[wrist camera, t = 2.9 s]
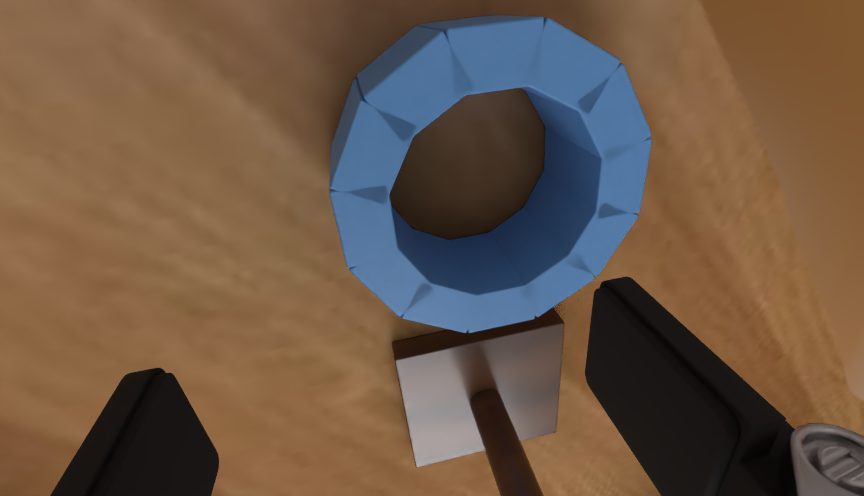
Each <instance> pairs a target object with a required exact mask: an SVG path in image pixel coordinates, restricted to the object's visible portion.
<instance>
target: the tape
mask: <svg viewBox="0 0 864 496" xmlns="http://www.w3.org/2000/svg"><path fill="white" fill-rule="evenodd" d="M357 79H358V80H357ZM357 79H354V80H353V83H352V86H351V89H350V92H349V95H348V98H347V101H346V104H345V106H344V109H343V112H342V115H341V118H340V121H339V124H338V127H337V130H336V133H335V136H334V139H333V142H332V145H331V158H330V191H329V194H330V198H331V202H332V206H333V210H334V215H335V219H336V223H337V227H338V231H339V235H340V240H341V244H342V248H343V252H344V256H345V260H346V265H347V267H349V270H350V272H351V273H352V274H354V275H355V276H356V277H357V278H358V279H359V280H360V281H361V282H362V283H363V284H364V285H365V286H366V287H368V288H369V289H370V290H371V291H372V292H373V293H374V294H375V295H376V296H377V297H378V298H379V299H380V300H381V301H383V302H384V303H385V304H386V305H387V306H388V307H389V308H390V309H391V310H392V311H393V312H394V313H395V314H397V315H398V316H401V317H402V319H406V320H410V321H415V322H419V323H424V324H428V325H432V326H437V327H441V328H445V329H450V330H454V331H459V332H463V333H466V332H467V330H468V333H472V332H477V331H481V330H486V329H491V328H495V327H500V326H504V325H509V324H514V323H518V322H523V321H528V320H532V319H535V316H536V317H539V316H541V315H542V314H543V313H545V312H546V311H548V310H549V309H551V308H552V307H554V306H555V305H557V304H558V303H560V302H561V301H563V300H564V299H566V298H567V297H569V296H570V295H572V294H573V293H575V292H576V291H577V290H579V289H580V288H582V287H583V286H585V285H586V284H588V283H589V282H591V281H592V280H594V279H595V276H594V275H596V276H598V275H599V273H600V272H601V271H602V269H603V268H604V266H605V265H606V263H607V262H608V260H609V259H610V257H611V256H612V254H613V253H614V251H615V250H616V248H617V247H618V246H619V244H620V243H621V241H622V240H623V238H624V237H625V235H626V234H627V232H628V231H629V229H630V228H631V226H632V225H633V223H634V222H635V221H636V219H637V218H638V214H636V213H639V212H640V209H641V203H642V197H643V191H644V185H645V179H646V173H647V167H648V161H649V155H650V149H651V143H652V139H651V138H649V137H650V136H651V132H650V129H649V127H648V124H647V122H646V119H645V117H644V114H643V112H642V109H641V107H640V104H639V101H638V99H637V96H636V94H635V91H634V89H633V86H632V84H631V81H630V79H629V76H628V74H627V71H626V69H625V66H624V65H623V64H622V63H620V60H619V59H618V58H617V57H615V56H613V55H612V54H610V53H608V52H607V51H605V50H603V49H601V48H600V47H598V46H596V45H595V44H593V43H591V42H589V41H588V40H586V39H584V38H583V37H581V36H579V35H578V34H576V33H574V32H572V31H571V30H569V29H567V28H566V27H564V26H562V25H560V24H559V23H557V22H555V21H554V20H552V19H550V18H543V17H541V16H503V15H489V16H481V17H472V18H464V19H456V20H448V21H439V22H431V23H423V24H420V25H419V27H417V26H415V27H413V28H412V29H411V30H410V31H408V32H407V33H406V34H405V35H404V36H402V37H401V38H400V39H399V40H398V41H396V42H395V43H394V44H393V45H392V46H391V47H389V48H388V49H387V50H386V51H385V52H383V53H382V54H381V55H380V56H379V57H377V58H376V59H375V60H374V61H373V62H372V63H370V64H369V65H368V66H367V67H366V68H364V69H363V70H362V71H361V72H360V73H358V74H357ZM514 88H522V89H524V90H525V91H526V93H527V95H528V97H529V98H530V100H531V102H532V104H533V106H534V107H535V109H536V111H537V113H538V115H539V117H540V118H541V120H542V122H543V124H544V126H545V127H546V133H545V159H544V171H543V173H542V175H541V177H540V178H539V180H538V182H537V184H536V186H535V187H534V189H533V191H532V193H531V195H530V196H529V198H528V200H527V202H526V204H525V205H524V207H523V209H521V210H520V211H518V212H517V213H516V214H514V215H513V216H512V217H510V218H509V219H507V220H506V221H505V222H503V223H502V224H501V225H499V226H498V227H496V228H495V229H494V230H492V231H491V232H490V233H485V234H480V235H475V236H469V237H464V238H458V239H453V240H447V239H444V238H440V237H437V236H434V235H431V234H428V233H425V232H421V231H418V230H415V229H412V228H411V227H410V226H409V225H408V224H407V223H406V221H405V220H404V219H403V218H402V217H401V216H400V215H399V214H398V212H397V211H396V210H395V209H394V208H393V207H392V206H391V201H390V195H389V194H390V192H391V190H392V187H393V185H394V182H395V180H396V177H397V175H398V173H399V170H400V168H401V165H402V163H403V161H404V158H405V156H406V153H407V151H408V148H409V146H410V144H411V141H412V139H413V137H414V136H415V135H416V134H417V133H419V132H420V131H421V130H423V129H424V128H425V127H426V126H428V125H429V124H430V123H431V122H433V121H434V120H435V119H436V118H438V117H439V116H440V115H441V114H443V113H444V112H445V111H446V110H448V109H449V108H450V107H451V106H453V105H454V104H455V103H457V102H458V101H459V100H460V99H462V98H463V97H464V96H466V95H473V94H480V93H487V92H493V91H500V90H507V89H514Z"/></svg>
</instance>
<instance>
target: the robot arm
mask: <svg viewBox="0 0 864 496" xmlns="http://www.w3.org/2000/svg"><path fill="white" fill-rule="evenodd" d="M585 376H586V380H587V383H588V385H589V387H590V389H591V390H592V392H593V393H594V395H595V396H596V398H597V399H598V401H599V402H600V404H601V405H602V407H603V408H604V410H605V411H606V413H607V414H608V416H609V417H610V419H611V420H612V422H613V423H614V425H615V426H616V428H617V429H618V431H619V432H620V434H621V435H622V437H623V438H624V440H625V442H626V443H627V445H628V446H629V448H630V449H631V451H632V452H633V454H634V455H635V457H636V458H637V460H638V461H639V463H640V464H641V466H642V467H643V469H644V470H645V472H646V473H647V475H648V476H649V478H650V479H651V481H652V482H653V484H654V485H655V487H656V488H657V490H658V491H659V493H660V494H661V496H864V436H862V435H860V434H858V433H856V432H853V431H850V430H848V429H845V428H842V427H839V426H835V425H830V424H824V423H808V424H805V425H802V426H799V427H797V428H796V429H794V428H793V427H792V426H791V425H789V424H788V423H787V422H786V421H785V419H786V418H785V417H784V416H783V415H782V414H781V413H779V412H778V411H777V410H776V409H775V408H774V407H773V406H772V405H771V404H770V403H768V402H767V401H766V400H765V399H764V398H763V397H762V396H761V395H760V394H759V393H757V392H756V391H755V390H754V389H753V388H752V387H751V386H750V385H749V384H747V383H746V382H745V381H744V380H743V379H742V378H741V377H740V376H739V375H738V374H736V373H735V372H734V371H733V370H732V369H731V368H730V367H729V366H728V365H727V364H725V363H724V362H723V361H722V360H721V359H720V358H719V357H718V356H717V355H716V354H714V353H713V352H712V351H711V350H710V349H709V348H708V347H707V346H706V345H705V344H703V343H702V342H701V341H700V340H699V339H698V338H697V337H696V336H695V335H694V334H692V333H691V332H690V331H689V330H688V329H687V328H686V327H685V326H684V325H683V324H681V323H680V322H679V321H678V320H677V319H676V318H675V317H674V316H673V315H672V314H670V313H669V312H668V311H667V310H666V309H665V308H664V307H663V306H662V305H660V304H659V303H658V302H657V301H656V300H655V299H654V298H653V297H652V296H651V295H649V294H648V293H647V292H646V291H645V290H644V289H643V288H642V287H641V286H640V285H638V284H637V283H636V282H635V281H634V280H633V279H631V278H630V277H622V278H617V279H612V280H607V281H603V282H602V283H601V285H600V288H599V289H596V290H595V292H594V298H593V307H592V315H591V324H590V333H589V342H588V351H587V359H586V368H585ZM218 468H219V458H218V453H217V451H216V449H215V447H214V446H213V444H212V442H211V440H210V438H209V437H208V435H207V433H206V431H205V430H204V428H203V426H202V424H201V422H200V421H199V419H198V417H197V415H196V413H195V412H194V410H193V408H192V406H191V405H190V403H189V401H188V399H187V397H186V396H185V394H184V392H183V390H182V388H181V387H180V385H179V383H178V381H177V380H176V378H175V376H174V375H173V374H172V373H165V371H164V370H163V369H161V368H154V369H149V370H144V371H138V372H133V373H129V374H127V375H125V376H124V377H123V379H122V380H121V382H120V383H119V385H118V386H117V388H116V390H115V391H114V393H113V395H112V396H111V398H110V399H109V401H108V403H107V404H106V406H105V408H104V409H103V411H102V412H101V414H100V416H99V417H98V419H97V421H96V422H95V424H94V425H93V427H92V429H91V430H90V432H89V434H88V435H87V437H86V438H85V440H84V442H83V443H82V445H81V447H80V448H79V450H78V451H77V453H76V455H75V456H74V458H73V460H72V461H71V463H70V464H69V466H68V468H67V469H66V471H65V473H64V474H63V476H62V477H61V479H60V481H59V482H58V484H57V486H56V487H55V489H54V490H53V492H52V494H51V495H50V496H211V494H212V490H213V487H214V483H215V479H216V476H217V472H218Z"/></svg>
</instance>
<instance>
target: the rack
mask: <svg viewBox="0 0 864 496" xmlns="http://www.w3.org/2000/svg"><path fill="white" fill-rule="evenodd" d="M563 337H564V322H563V320H562V319H561V317H560V316H559V315H558V313H557V312H556V311H555V309H554V308H551V309H549V310H548V311H546V312H545V313H543V314H542V315H541V316H539V317H536V316H535V319H532V320H528V321H523V322H518V323H514V324H509V325H504V326H500V327H495V328H491V329H486V330H481V331H477V332H472V333H468V330H467V332H466V333H463V332H459V331H454V330H448V331H443V332H438V333H433V334H429V335H424V336H419V337H415V338H410V339H405V340H401V341H396V342H392V348H393V353H394V359H395V364H396V369H397V375H398V380H399V385H400V390H401V395H402V400H403V405H404V410H405V415H406V420H407V425H408V430H409V435H410V440H411V445H412V450H413V455H414V460H415V466H416V467H421V466H425V465H429V464H433V463H437V462H441V461H445V460H449V459H453V458H457V457H460V456H464V455H468V454H472V453H476V452H480V451H484V450H485V451H486V454H487V457H488V460H489V463H490V466H491V469H492V472H493V475H494V478H495V481H496V483H497V486H498V489H499V492H500V495H501V496H543V493H542V491H541V489H540V486H539V484H538V482H537V479H536V477H535V475H534V473H533V470H532V468H531V466H530V463H529V461H528V459H527V456H526V454H525V452H524V449H523V447H522V445H521V442H520V441H524V440H528V439H532V438H536V437H540V436H544V435H548V434H552V433H555V432H556V425H557V413H558V400H559V387H560V375H561V362H562V349H563Z"/></svg>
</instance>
